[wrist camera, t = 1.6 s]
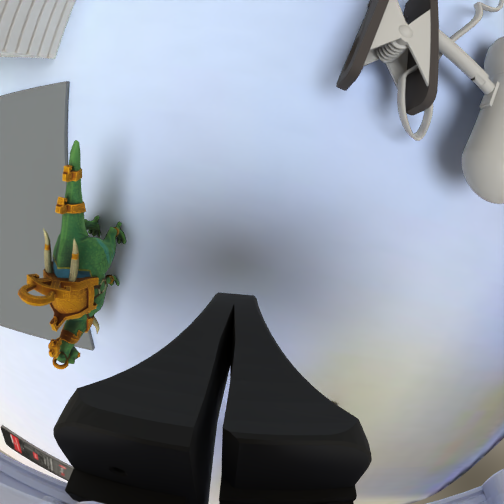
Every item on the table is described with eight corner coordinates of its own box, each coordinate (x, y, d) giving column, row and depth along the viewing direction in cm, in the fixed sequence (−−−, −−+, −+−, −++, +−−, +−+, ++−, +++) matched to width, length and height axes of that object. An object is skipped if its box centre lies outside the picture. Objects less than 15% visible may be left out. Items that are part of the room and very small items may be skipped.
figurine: (83, 309, 20) (22, 390, 12) (99, 127, 15) (-7, 146, 8) (123, 322, 20) (72, 414, 12) (149, 137, 15) (59, 159, 8)
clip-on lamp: (421, -68, 11) (305, 85, 13) (456, -114, 5) (339, 18, 7) (539, 36, 12) (479, 225, 14) (590, 15, 6) (563, 242, 8)
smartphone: (-1, 425, 29) (91, 477, 31) (1, 422, 30) (93, 474, 32) (6, 445, 32) (89, 491, 34) (8, 441, 32) (90, 487, 34)
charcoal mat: (94, 348, 21) (92, 350, 21) (2, 323, 21) (0, 325, 21) (69, 81, 14) (66, 81, 14) (-33, 106, 14) (-35, 106, 14)
